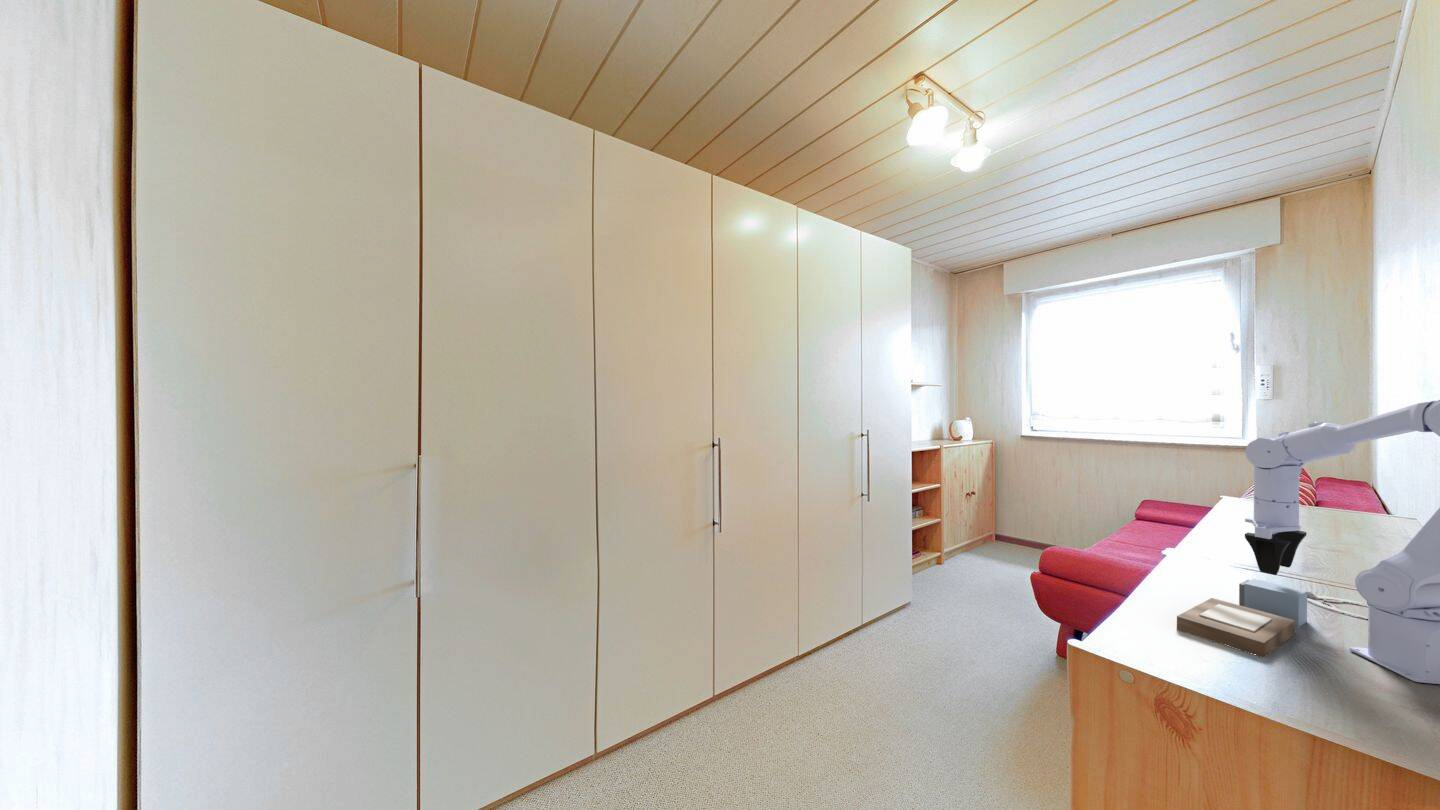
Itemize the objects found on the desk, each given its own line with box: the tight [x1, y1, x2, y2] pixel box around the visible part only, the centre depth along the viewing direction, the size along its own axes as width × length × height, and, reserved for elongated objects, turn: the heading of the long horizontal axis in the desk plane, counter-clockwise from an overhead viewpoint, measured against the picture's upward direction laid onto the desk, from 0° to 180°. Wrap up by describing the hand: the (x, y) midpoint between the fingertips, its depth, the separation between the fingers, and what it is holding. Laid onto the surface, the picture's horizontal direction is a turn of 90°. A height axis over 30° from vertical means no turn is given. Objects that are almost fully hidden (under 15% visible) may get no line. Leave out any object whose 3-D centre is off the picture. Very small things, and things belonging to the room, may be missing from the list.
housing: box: [1238, 578, 1308, 629], centre depth 93 cm, size 8×5×6 cm, turn 28°
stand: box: [1176, 597, 1296, 658], centre depth 88 cm, size 16×11×3 cm
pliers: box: [1269, 581, 1368, 618], centre depth 99 cm, size 10×2×15 cm
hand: (1275, 569), depth 93 cm, fingers open, 7 cm apart
